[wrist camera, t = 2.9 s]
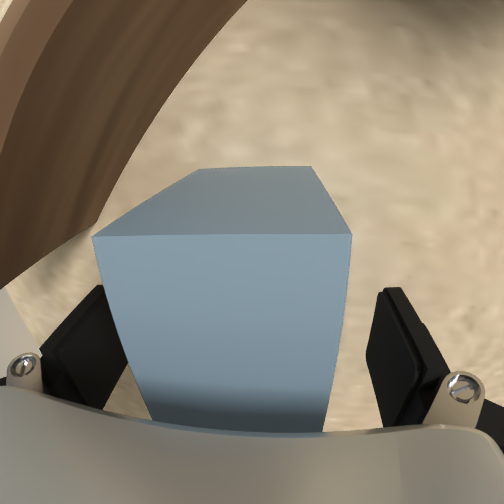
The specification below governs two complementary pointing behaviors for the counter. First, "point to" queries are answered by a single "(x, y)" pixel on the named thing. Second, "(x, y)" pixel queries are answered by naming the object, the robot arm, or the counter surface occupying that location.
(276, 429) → the light blue block
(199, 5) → the shelf
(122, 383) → the counter surface
